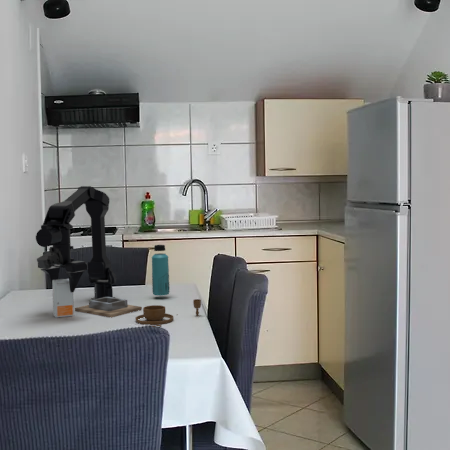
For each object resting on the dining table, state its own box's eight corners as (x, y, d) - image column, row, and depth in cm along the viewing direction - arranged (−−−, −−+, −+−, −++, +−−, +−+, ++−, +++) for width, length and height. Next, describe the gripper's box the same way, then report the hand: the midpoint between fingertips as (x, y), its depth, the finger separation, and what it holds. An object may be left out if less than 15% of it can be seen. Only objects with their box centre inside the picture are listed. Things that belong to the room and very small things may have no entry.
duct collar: (74, 310, 208) (74, 300, 208) (106, 303, 219) (105, 294, 219) (111, 317, 197) (110, 306, 197) (141, 309, 209) (141, 299, 208)
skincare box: (55, 318, 198) (54, 281, 197) (53, 315, 201) (51, 279, 200) (74, 316, 200) (73, 279, 199) (71, 313, 204) (70, 278, 203)
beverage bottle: (166, 299, 225) (165, 245, 224) (149, 299, 226) (148, 245, 225) (172, 296, 232) (170, 243, 230) (155, 295, 233) (154, 243, 231)
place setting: (142, 316, 202) (142, 298, 202) (202, 316, 200) (202, 298, 200) (129, 329, 185) (128, 309, 184) (194, 329, 183) (194, 310, 182)
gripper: (23, 244, 198) (24, 291, 200) (59, 247, 187) (61, 298, 188) (51, 241, 207) (53, 286, 208) (87, 244, 196) (89, 292, 197)
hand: (63, 290), depth 200 cm, fingers open, 9 cm apart
